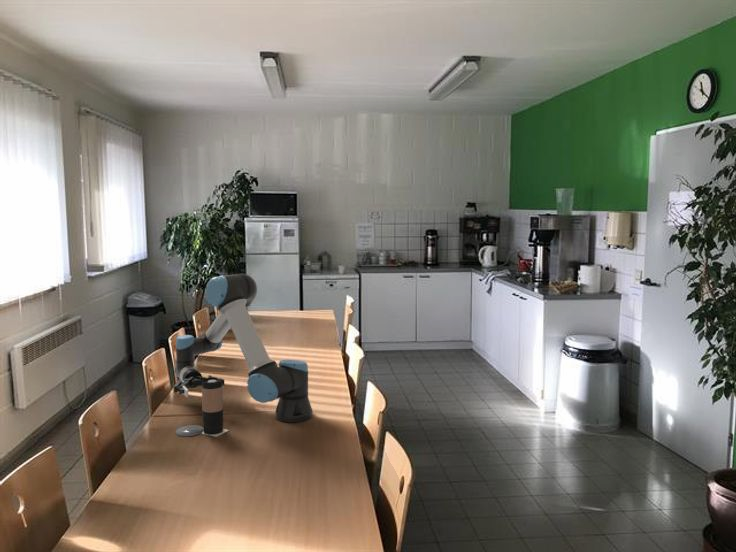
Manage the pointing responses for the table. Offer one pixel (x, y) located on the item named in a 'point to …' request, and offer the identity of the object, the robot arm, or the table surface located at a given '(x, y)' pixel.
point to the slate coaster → (189, 430)
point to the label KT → (218, 433)
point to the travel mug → (212, 405)
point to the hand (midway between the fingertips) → (205, 391)
